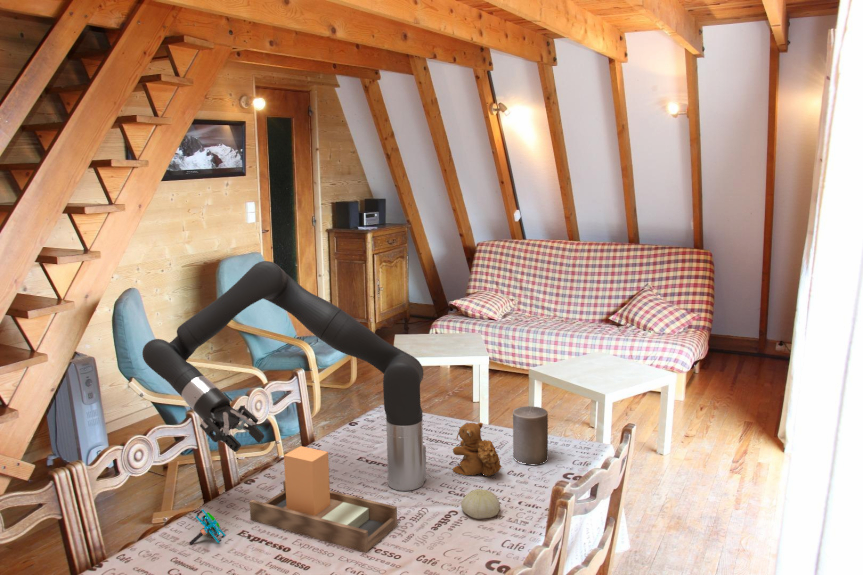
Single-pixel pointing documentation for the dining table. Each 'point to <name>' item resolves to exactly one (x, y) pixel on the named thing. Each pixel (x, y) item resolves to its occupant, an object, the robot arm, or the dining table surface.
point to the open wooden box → (331, 519)
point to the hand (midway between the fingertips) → (250, 444)
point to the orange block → (307, 480)
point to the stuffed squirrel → (475, 452)
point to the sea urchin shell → (480, 504)
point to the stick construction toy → (208, 527)
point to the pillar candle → (530, 435)
